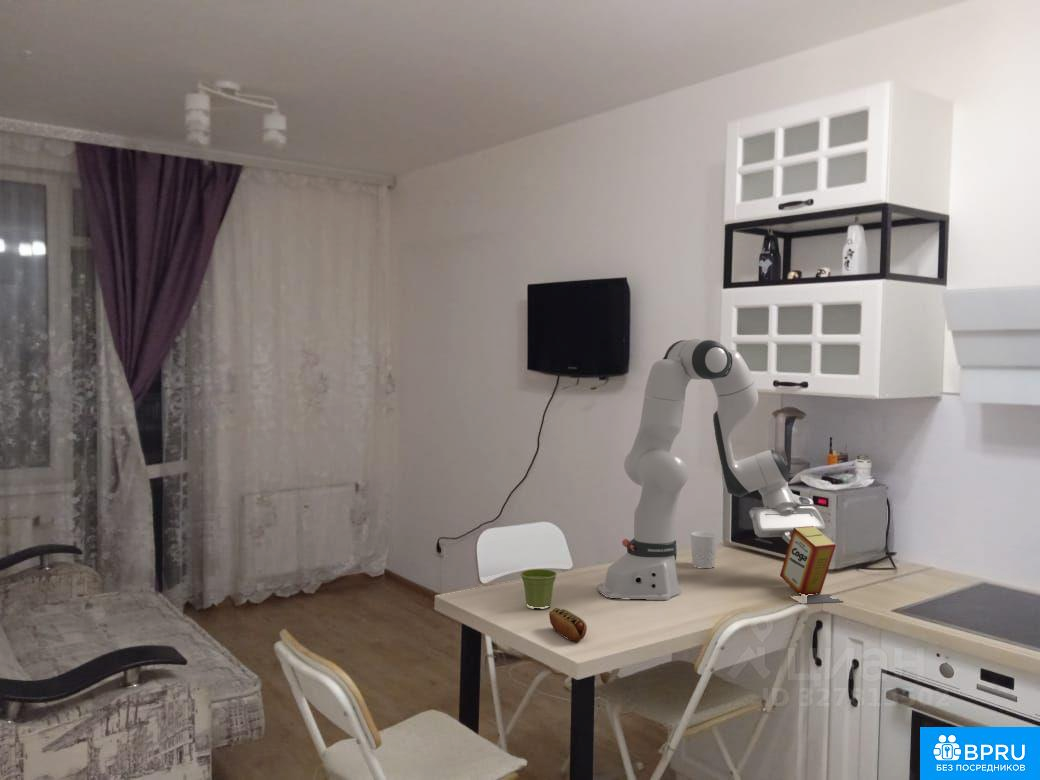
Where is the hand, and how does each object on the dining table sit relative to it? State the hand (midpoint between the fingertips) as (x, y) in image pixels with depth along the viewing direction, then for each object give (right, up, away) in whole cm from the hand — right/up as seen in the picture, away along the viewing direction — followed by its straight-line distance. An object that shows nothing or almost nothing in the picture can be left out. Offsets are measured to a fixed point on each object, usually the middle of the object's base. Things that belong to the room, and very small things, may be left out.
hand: (797, 547), depth 231 cm
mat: (+1, -12, -10) cm, 16 cm away
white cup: (-20, -11, +26) cm, 35 cm away
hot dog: (-66, -13, -40) cm, 78 cm away
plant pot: (-72, -12, -18) cm, 75 cm away
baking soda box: (0, -10, -2) cm, 10 cm away
